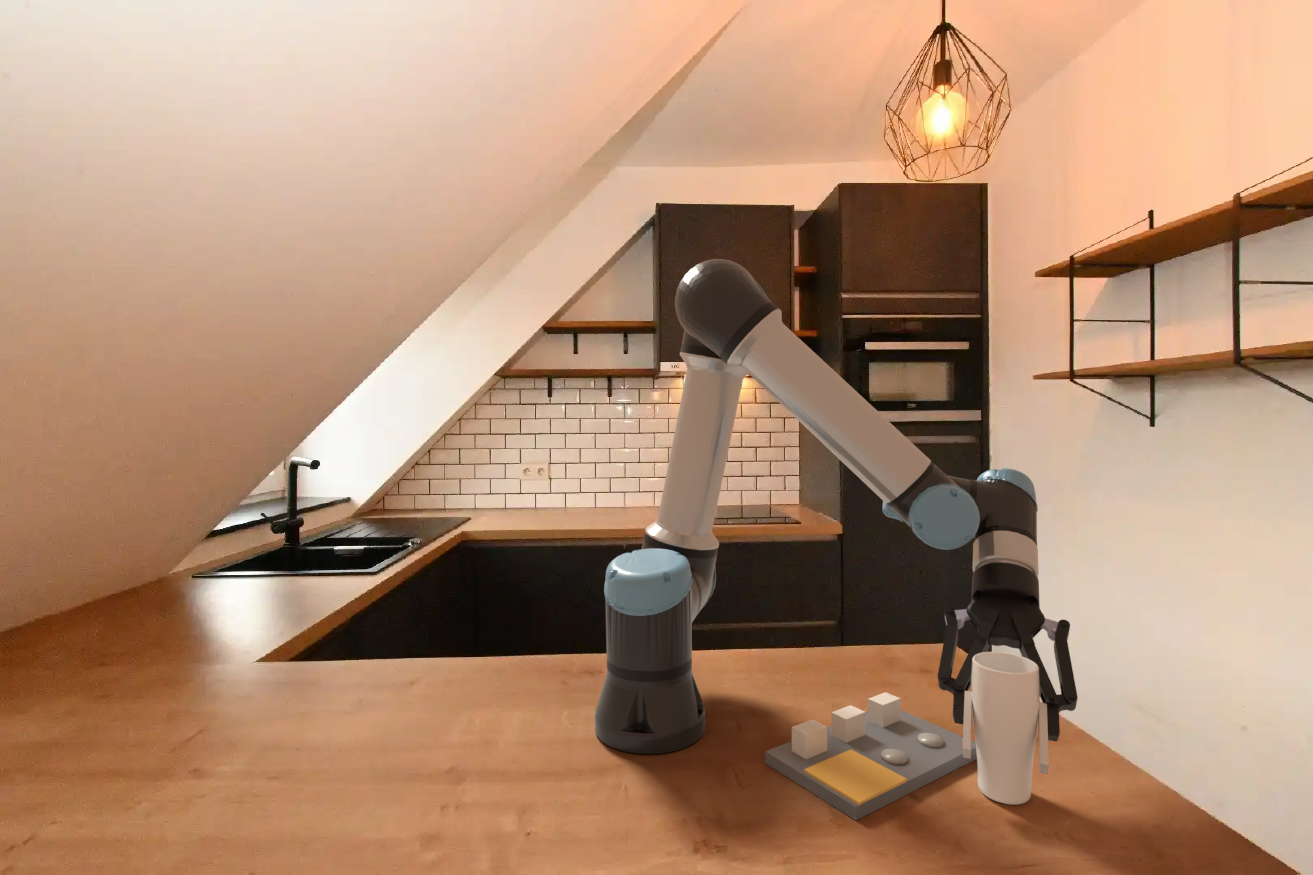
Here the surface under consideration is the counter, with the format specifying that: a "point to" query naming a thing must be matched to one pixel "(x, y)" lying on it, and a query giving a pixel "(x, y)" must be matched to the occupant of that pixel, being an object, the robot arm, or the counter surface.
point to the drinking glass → (1005, 724)
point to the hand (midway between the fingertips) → (1004, 760)
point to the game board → (868, 756)
